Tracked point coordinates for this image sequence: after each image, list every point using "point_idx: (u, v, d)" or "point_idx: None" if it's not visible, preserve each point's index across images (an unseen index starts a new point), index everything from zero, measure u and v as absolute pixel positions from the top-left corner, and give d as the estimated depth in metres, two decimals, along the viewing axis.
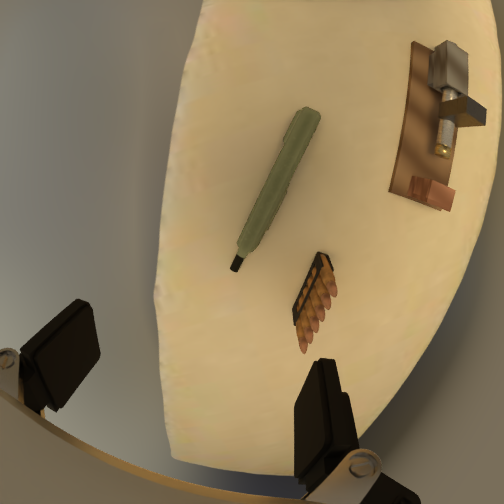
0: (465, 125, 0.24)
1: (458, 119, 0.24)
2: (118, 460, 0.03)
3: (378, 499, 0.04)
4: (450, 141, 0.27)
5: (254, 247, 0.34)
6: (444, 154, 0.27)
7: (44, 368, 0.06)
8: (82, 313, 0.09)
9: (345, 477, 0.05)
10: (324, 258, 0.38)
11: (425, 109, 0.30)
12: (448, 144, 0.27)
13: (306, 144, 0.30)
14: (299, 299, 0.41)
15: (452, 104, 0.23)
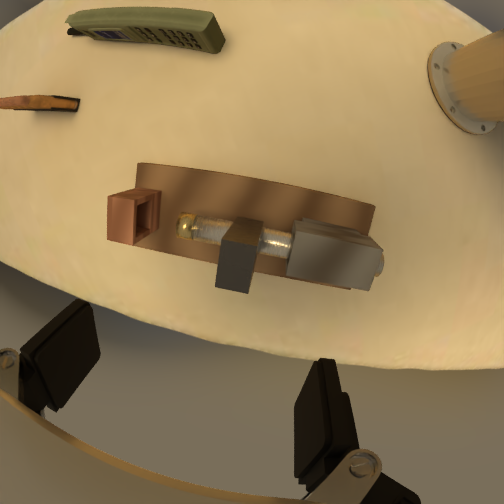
0: None
1: None
2: (118, 460, 0.03)
3: (378, 499, 0.04)
4: (200, 235, 0.24)
5: (72, 25, 0.17)
6: (178, 224, 0.24)
7: (44, 368, 0.06)
8: (82, 313, 0.09)
9: (345, 477, 0.05)
10: (69, 103, 0.24)
11: (261, 210, 0.28)
12: (195, 231, 0.24)
13: (166, 25, 0.18)
14: None
15: (250, 229, 0.21)
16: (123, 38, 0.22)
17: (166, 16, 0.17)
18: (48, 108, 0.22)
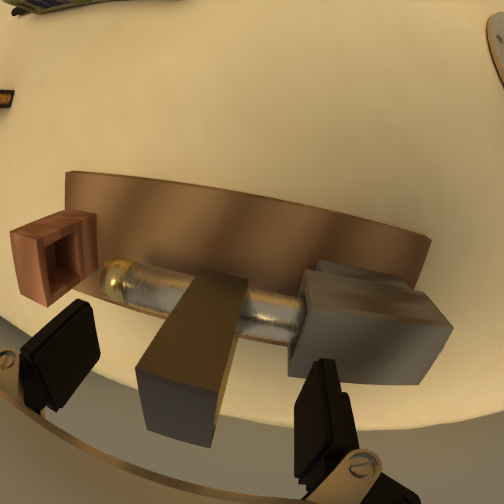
0: None
1: None
2: (118, 460, 0.03)
3: (378, 499, 0.04)
4: (138, 302, 0.13)
5: None
6: (102, 280, 0.13)
7: (44, 368, 0.06)
8: (82, 313, 0.09)
9: (345, 477, 0.05)
10: None
11: (248, 247, 0.17)
12: (128, 295, 0.13)
13: None
14: None
15: (215, 317, 0.10)
16: (62, 3, 0.10)
17: None
18: None
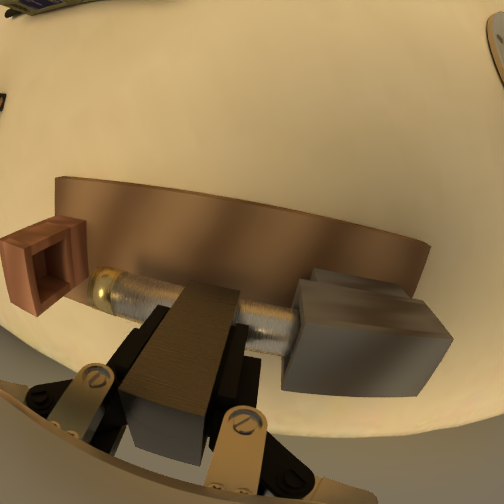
0: None
1: None
2: (118, 460, 0.03)
3: (262, 464, 0.05)
4: (126, 314, 0.12)
5: None
6: (90, 291, 0.12)
7: None
8: None
9: (233, 438, 0.06)
10: None
11: (240, 255, 0.16)
12: (116, 306, 0.12)
13: None
14: None
15: (203, 333, 0.09)
16: (55, 3, 0.10)
17: None
18: None
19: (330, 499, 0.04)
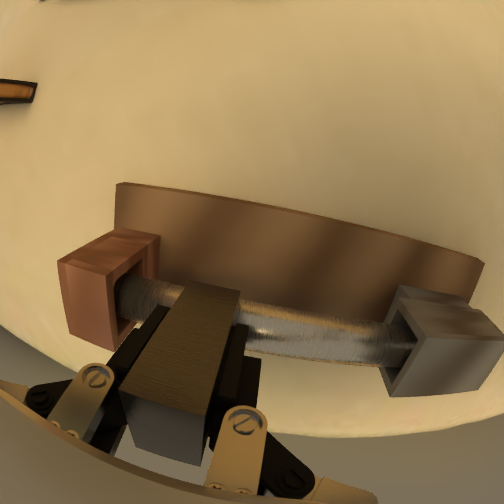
0: None
1: None
2: (118, 460, 0.03)
3: (262, 464, 0.05)
4: (126, 314, 0.12)
5: None
6: None
7: None
8: None
9: (233, 438, 0.06)
10: (19, 90, 0.12)
11: (338, 275, 0.16)
12: (116, 306, 0.12)
13: None
14: None
15: (203, 333, 0.09)
16: None
17: None
18: None
19: (330, 499, 0.04)
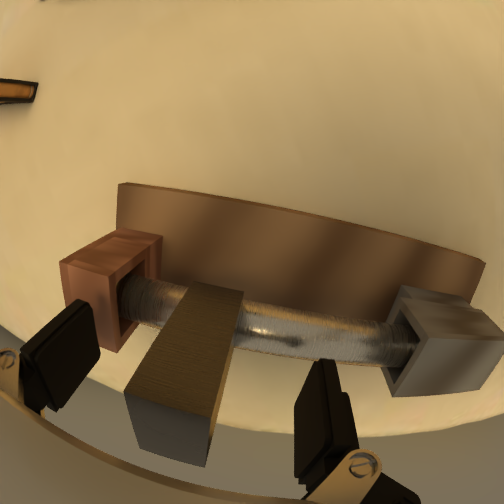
0: None
1: None
2: (118, 460, 0.03)
3: (378, 499, 0.04)
4: (129, 315, 0.12)
5: None
6: None
7: (44, 368, 0.06)
8: (82, 313, 0.09)
9: (345, 477, 0.05)
10: (20, 90, 0.12)
11: (341, 275, 0.16)
12: (119, 307, 0.12)
13: None
14: None
15: (208, 334, 0.09)
16: None
17: None
18: None
19: None
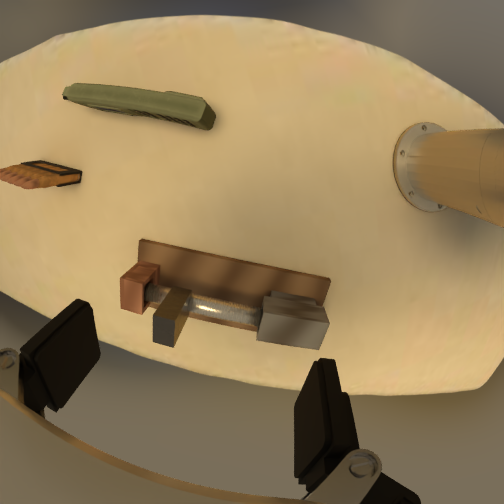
0: None
1: None
2: (118, 460, 0.03)
3: (378, 499, 0.04)
4: (148, 298, 0.32)
5: (71, 99, 0.24)
6: None
7: (44, 368, 0.06)
8: (82, 313, 0.09)
9: (345, 477, 0.05)
10: (73, 177, 0.31)
11: (239, 284, 0.36)
12: None
13: (163, 113, 0.25)
14: (44, 163, 0.31)
15: (177, 302, 0.29)
16: (121, 112, 0.29)
17: (163, 103, 0.24)
18: (55, 185, 0.28)
19: None
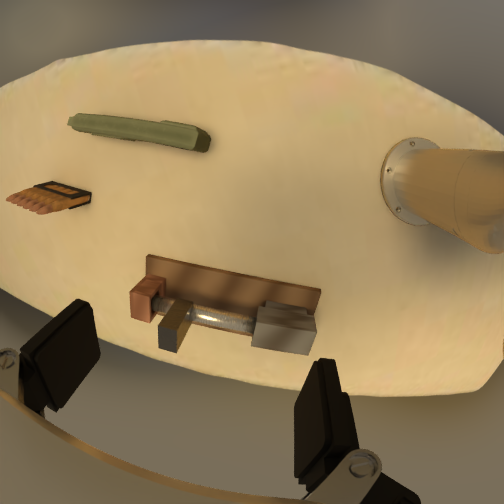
0: None
1: None
2: (118, 460, 0.03)
3: (378, 499, 0.04)
4: (155, 309, 0.36)
5: (75, 128, 0.28)
6: None
7: (44, 368, 0.06)
8: (82, 313, 0.09)
9: (345, 477, 0.05)
10: (83, 199, 0.36)
11: (237, 295, 0.40)
12: (151, 306, 0.36)
13: (161, 142, 0.28)
14: (55, 185, 0.36)
15: (179, 313, 0.33)
16: None
17: (159, 133, 0.28)
18: None
19: None
